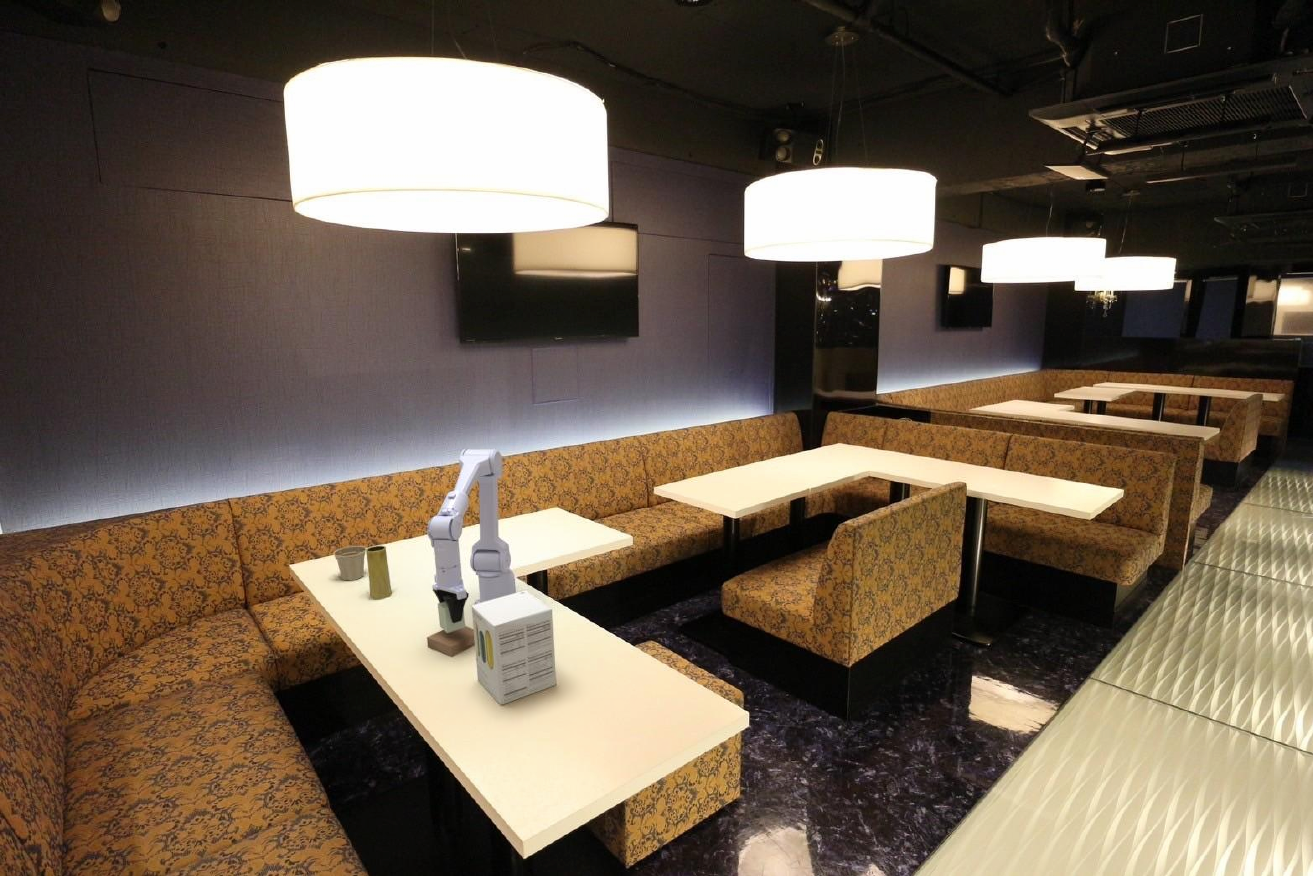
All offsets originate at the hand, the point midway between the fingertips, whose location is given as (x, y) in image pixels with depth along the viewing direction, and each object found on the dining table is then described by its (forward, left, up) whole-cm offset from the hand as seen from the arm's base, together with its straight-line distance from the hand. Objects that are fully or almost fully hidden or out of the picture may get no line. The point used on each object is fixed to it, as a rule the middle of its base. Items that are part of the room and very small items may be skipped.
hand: (452, 618), depth 161 cm
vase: (+4, -44, -7) cm, 45 cm away
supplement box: (-3, +26, -7) cm, 27 cm away
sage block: (0, 0, -2) cm, 2 cm away
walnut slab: (0, 0, -7) cm, 7 cm away
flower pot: (+6, -65, -7) cm, 66 cm away
